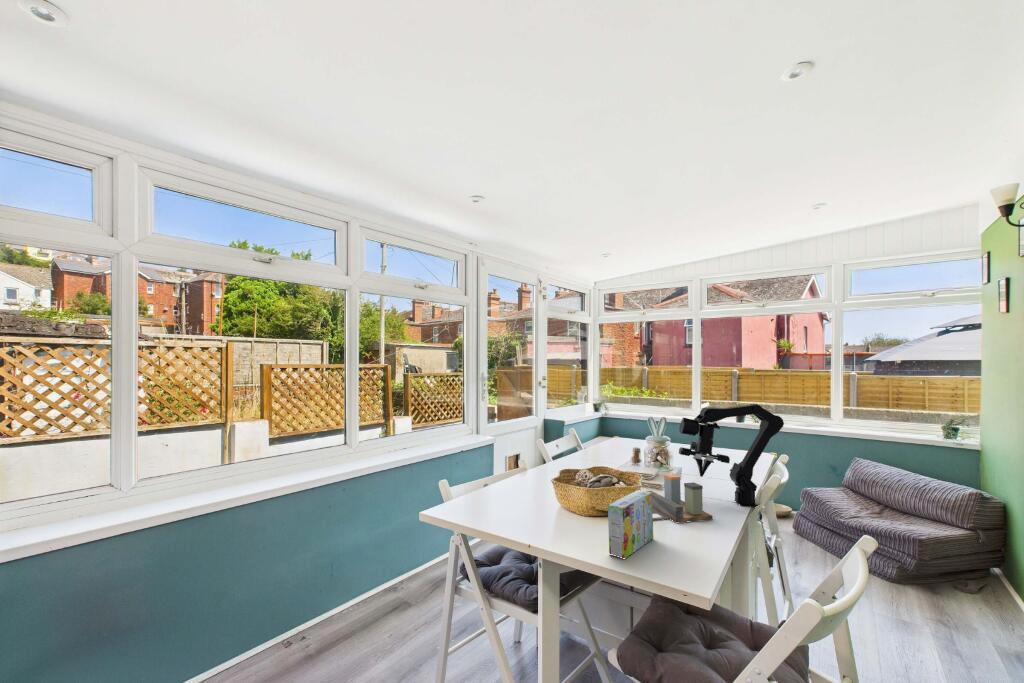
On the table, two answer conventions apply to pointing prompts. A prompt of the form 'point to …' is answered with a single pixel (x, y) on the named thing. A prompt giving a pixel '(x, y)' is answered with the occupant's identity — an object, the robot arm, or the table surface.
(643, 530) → the snack box
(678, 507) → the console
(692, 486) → the tall green block
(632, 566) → the table surface
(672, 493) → the orange-capped grey pillar
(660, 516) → the card
